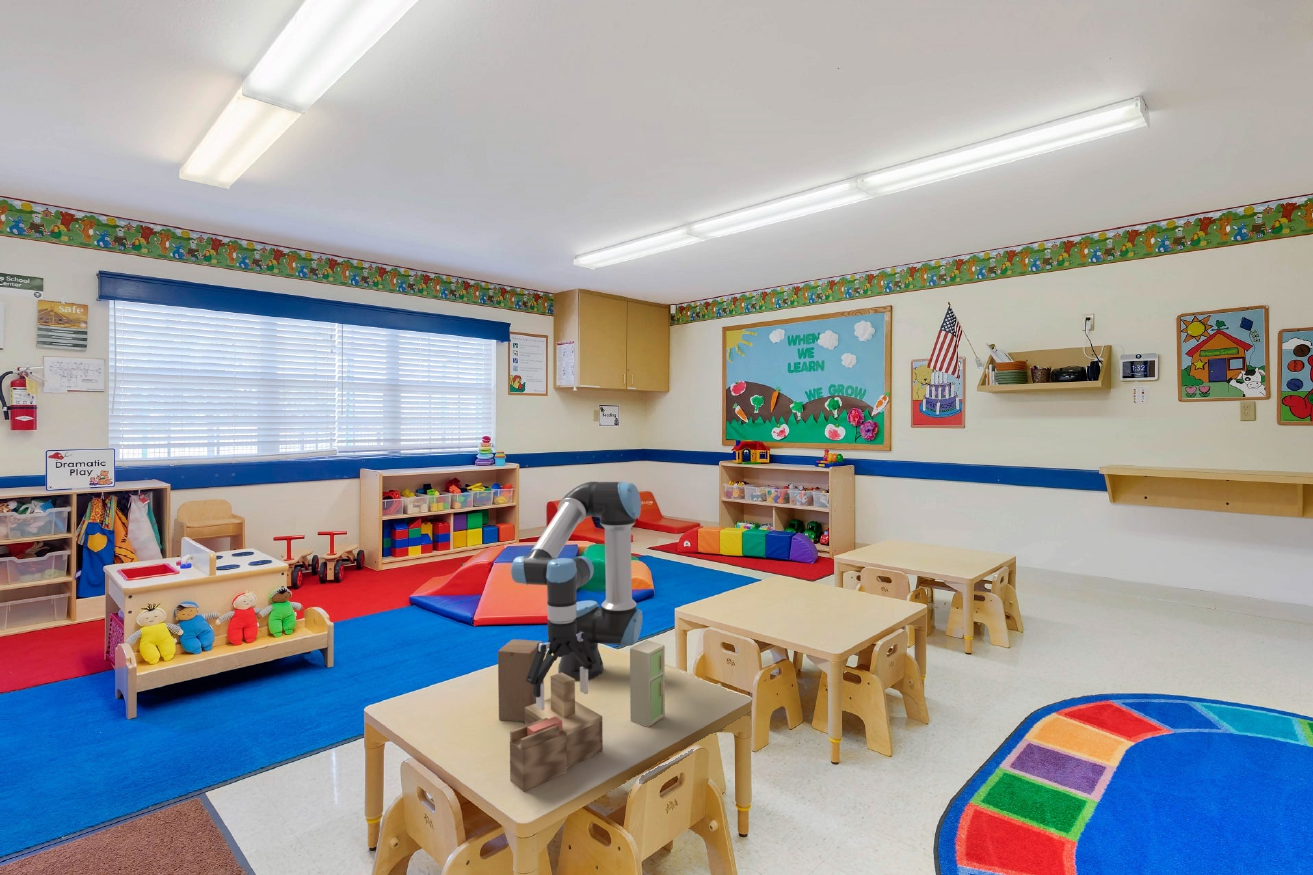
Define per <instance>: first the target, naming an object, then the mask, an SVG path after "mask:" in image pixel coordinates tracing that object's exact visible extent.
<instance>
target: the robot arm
mask: <svg viewBox="0 0 1313 875" xmlns="http://www.w3.org/2000/svg"><path fill="white" fill-rule="evenodd" d="M638 489H639V488H637V486H636V485H635V484H634V483H633V482H626V481H625V482H624V481H589V482H588V481H587V482H584V483H582V484H580V485H577V486H576V487H574V488H572V490H570V491H568V493H566V494H565V495H564V497H563V498H562V499H561V500H560V501H559V503H558V505H557V512H556V513H555V515H554V516H553V517H552V518H551V520H550V522H549V524H548V525H547V526H546V528H545V530H544V531H543V532H542V534H541V535H540V537H539V538H538V540H536V542H535V544H534V546H533V547H532V549H531V551H529V553H527V556H525V555H522V556H517V557H515V558H514V559H513V561H512V564H511V566H510V567H511V568H510V575H511V579H512V580H513V582H515V583H517V584H521V585H522V584H523V585H536V586H546V588H547V589H546V590H547V591H546V593H547V594H546V595H547V596H546V597H547V603H546V604H547V620H548V621H547V635H548V636H547V637H548V640H547V642H543V643H540V642H539V643H538V644H537V652H536V654H535V657H534V660H533V662H532V665H531V668H530V670H529V673H528V676H527V678H526V681H527V682H528V683H530V684H532V685H533V694H534V696H535V697H536V707H537V708H539V709H540V710H544V700H545V683H544V684H543V683H542V681H543V680H545V678H546V676H547V675H548V673H549V671H550V670H551V667H552V666H553V664H554V663H555V661H557V660H558V658H560V659H559V660H560V661H559V663H558V667H557V669H558V673H564V674H566V675H568V676H570V677H572V678H574V679H575V681H579V691H580V693H582V694H584V695H588V694H589V680H591V679H595V678H597V677H599V676H601V675H602V674H603V672H604V663H603V660H602V656H601V653H600V650H599V644H600V645H601V644H603V645H611V646H612V645H614V646H620V647H623V646H626V647H628V646H629V647H630V646H631V647H633V646H635V644H636V643H637V641H638V639H639V638H640V634H641V631H642V630H641V629H642V625H643V611H642V610H640V609H637V602H636V601H635V600H634V599H633V595H632V594H633V593H632V592H633V591H632V531H631V530H632V529H631V528H632V527H633V526H634V525H635V524H636V519H638V518H639V517H640V516H641V513H642V512H641V511H642V510H641V509H642V499H641V495H640V491H639V490H638ZM591 517H593V518H599V524H600V525H601V526H602V527H603V528H604V548H605V549H604V552H605V553H604V555H605V556H604V557H605V558H604V559H605V562H604V564H605V600H604V601H603V602H602V603H601V607H600V606H599V604H598V602H597V601H595V600H581V601H577V590H578V589H580V588H581V587H583V586H584V585H586V584H587V583H588V582H589V581H590V580H591V579H592V577H593V575H594V572H595V570H594V569H595V567H594V564H593V563H592V561H591V560H590V559H589V558H588V557H586V556H583V555H580V556H575V557H573V558H570V557H569V558H567V557H560V558H559V555H560V553H561V552H562V551H563V549H564V548H565V545H566V543H567V542H568V541H569V539H570V537H571V536H572V534H573V532H574V531H575V529H576V528H577V526H578V525H579V524H580V523H582V522H584V520H585V519H586V518H591ZM558 673H557V674H558Z"/></svg>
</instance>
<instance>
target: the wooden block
mask: <svg viewBox="0 0 1313 875" xmlns="http://www.w3.org/2000/svg"><path fill="white" fill-rule="evenodd" d="M539 642H540V643H544V642H543V641H541V640H531V639H529V640H528V639H515V638H514V639H511V640H510V641H509V642H507V643H505V645H503V646H502V647H500V649H499V650H498V652H497V667H498V668H497V674H498V675H497V676H498V679H497V680H498V682H497V683H498V719H499V720H500V721H510V722H521V723H522V722H523V723H525V707H527V706H530V705H533V704H536V697H535V696H534V694H533V685H532V684H530V683H528V682H527V681H526V678H527V676H528V673H529V670H530V668H531V665H532V662H533V660H534V657H535V654H536V652H537V644H538V643H539ZM544 680H545V679H544ZM544 680H543V681H542V683H543V684H544V685H545V683H544V682H545V681H544Z"/></svg>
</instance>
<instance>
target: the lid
mask: <svg viewBox="0 0 1313 875" xmlns="http://www.w3.org/2000/svg"><path fill="white" fill-rule="evenodd" d="M525 712H526V713H527V714H529V715H530V716H532V717H534V718H535V719H537V720H538V721H539V720H542V719H544V718H548V719H550V718H552V717H555V716H556V717H557V718H559V719H561V720H562V730H563V731H564V732H566V733H567V735H569V734H572V733H574V732H576V731H579V730H581V729H584V728H586V727H589V726H591V725H594V724H596V723H598V722H601V721H602V722H603V715H602V714H600V713H598V712H596V711H594V710H592V709H591V708H590V707H589V708H588V707H586V706H585V705H583V704H581V703H579V702H578V701H576V680H575V679H574V678H572V677H570V676H568V675H566V674H564V673H556V674H553V675H550V697H549V698H547V699H544V710H540V709H539V708H537V707H536V704H533V705H530V706H527V707H525Z"/></svg>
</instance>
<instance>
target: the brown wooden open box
mask: <svg viewBox="0 0 1313 875" xmlns="http://www.w3.org/2000/svg"><path fill="white" fill-rule="evenodd" d="M547 719H548V718H544V719H542V720H539V721H538V720H537V719H535V718H534V717H532V716H530V715H529V714H527V713H526V712H525V722H524V725H523V726H521V727H519V728H516V729H512V730H511V731H509V772H510V773H509V775H510V776H509V781H510V782H511V783H512V784H513V785H515V787H517V788H519V789H520V790H521V791H522V792H526V791H528V790H530V789H532V788H534V787H537V786H539V785H541V784H543V783H545V782H547V781H550V780H552V779H555V778H556V777H558V776H561V775H564V774H565V773H567V772H568V768H570V767H572V766H574V765H576V764H578V763H580V762H582V761H585V760H587V759H589V758H592V757H593V756H597V755H598V754H600V753H603V752H604V751H603V748H604V745H603V743H604V742H603V739H604V738H603V720H602V721H601V722H598V723H596V724H594V725H591V726H589V727H586V728H584V729H581V730H579V731H576V732H574V733H572V734H569V735H567V733H566V732H564V731H563V730H562V731H561V732H559V725H555V726H552V727H550V728H547V729H545V730H542V731H540V732H537V733H534V734H532V735H529V736H527V727H529V726H531V725H534V724H537V723H539V722H542V721H545V720H547Z"/></svg>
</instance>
